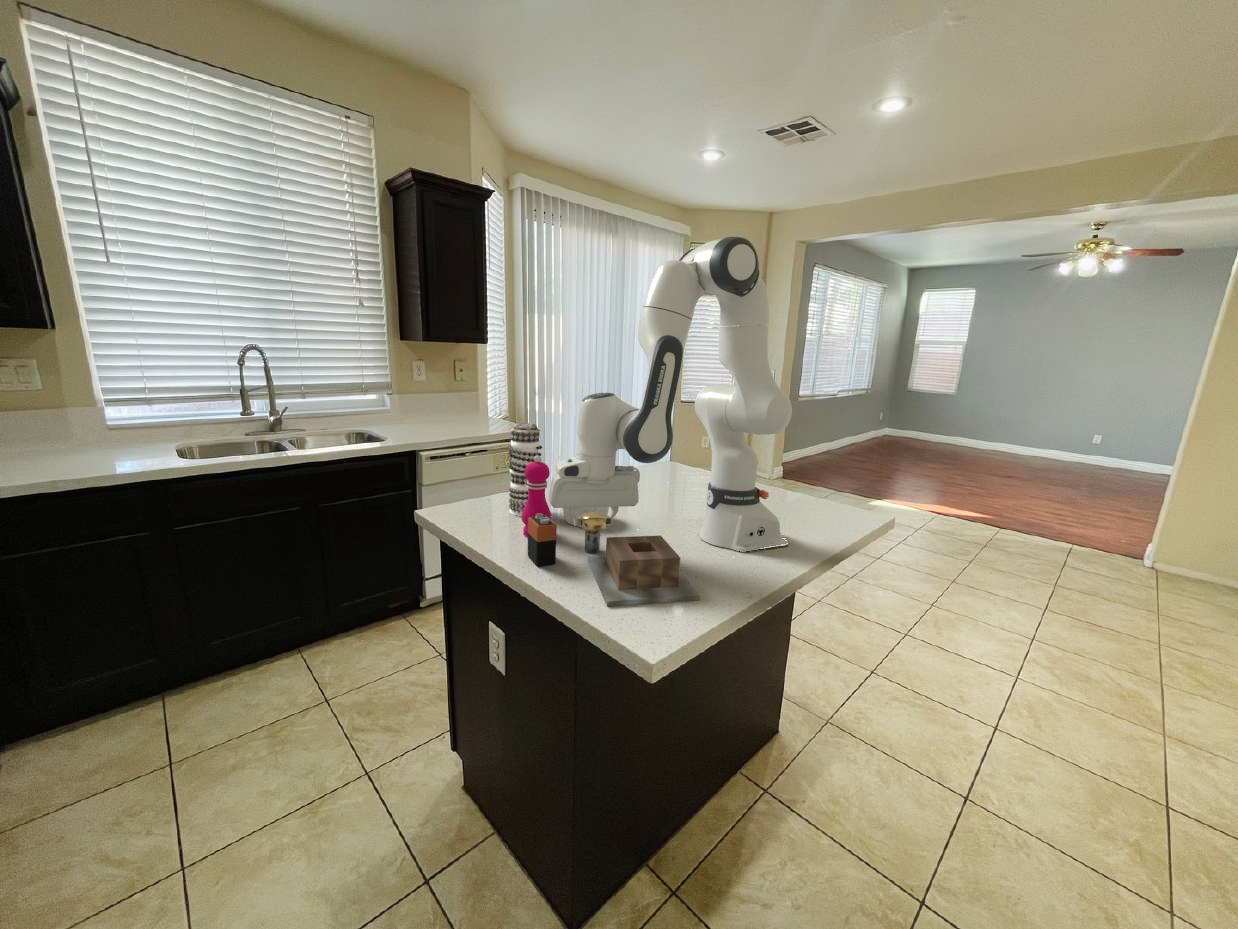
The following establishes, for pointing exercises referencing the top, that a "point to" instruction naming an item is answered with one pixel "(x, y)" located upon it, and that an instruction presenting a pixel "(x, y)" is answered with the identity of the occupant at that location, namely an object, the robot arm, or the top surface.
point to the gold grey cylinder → (593, 530)
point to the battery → (542, 540)
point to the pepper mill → (535, 491)
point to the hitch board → (639, 593)
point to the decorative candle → (521, 463)
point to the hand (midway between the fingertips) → (593, 524)
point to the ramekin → (582, 510)
